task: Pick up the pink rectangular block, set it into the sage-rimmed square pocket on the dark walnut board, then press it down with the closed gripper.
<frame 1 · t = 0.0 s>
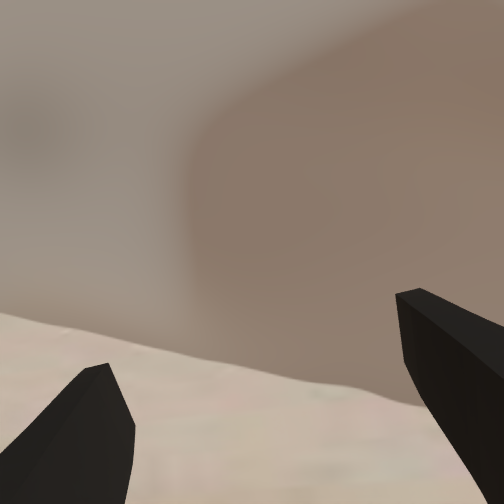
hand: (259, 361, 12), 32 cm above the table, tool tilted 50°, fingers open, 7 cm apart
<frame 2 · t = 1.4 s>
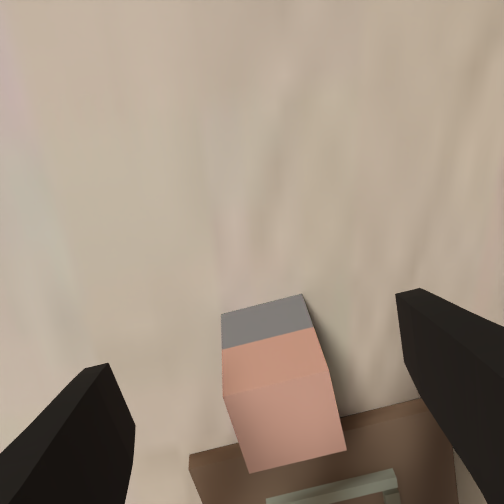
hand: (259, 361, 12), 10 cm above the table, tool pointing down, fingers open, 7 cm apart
pink rectangular block: (270, 337, 24), on the table
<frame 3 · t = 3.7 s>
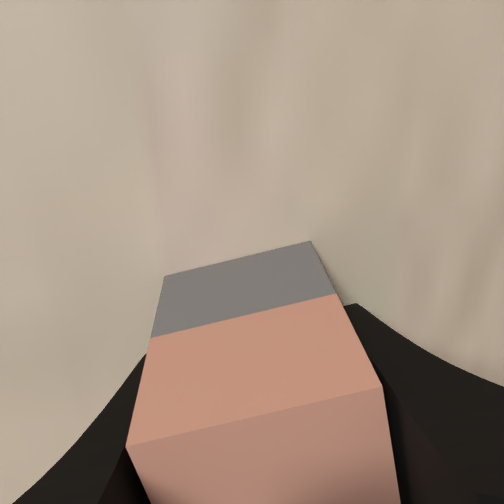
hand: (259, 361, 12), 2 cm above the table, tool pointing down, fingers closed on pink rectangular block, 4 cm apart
pink rectangular block: (254, 321, 14), on the table, touching gripper
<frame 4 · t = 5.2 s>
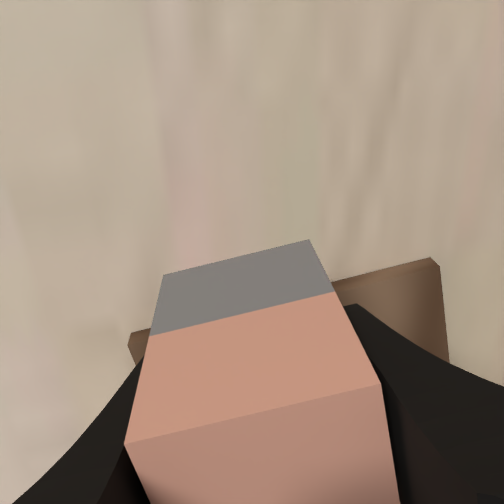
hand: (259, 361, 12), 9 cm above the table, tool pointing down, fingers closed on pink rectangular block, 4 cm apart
pink rectangular block: (253, 320, 14), point 7 cm above the table, touching gripper
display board: (309, 412, 25), on the table
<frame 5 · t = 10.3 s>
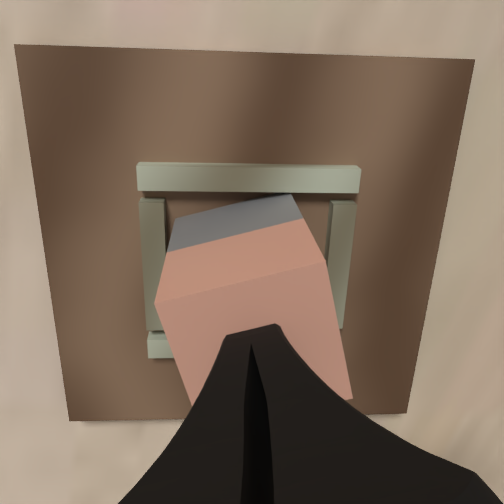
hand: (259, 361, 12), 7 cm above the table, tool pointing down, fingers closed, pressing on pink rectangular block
pink rectangular block: (245, 256, 17), point 1 cm above the table, touching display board, gripper
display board: (245, 252, 18), on the table
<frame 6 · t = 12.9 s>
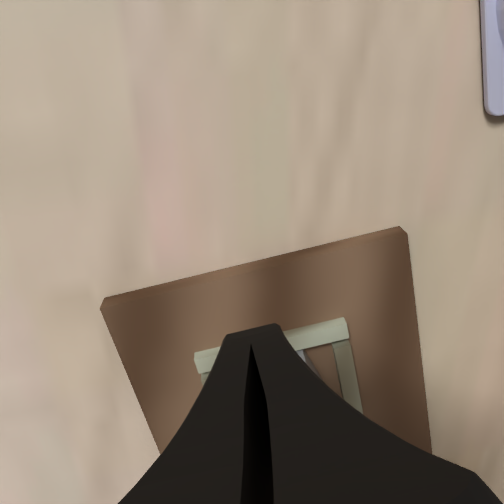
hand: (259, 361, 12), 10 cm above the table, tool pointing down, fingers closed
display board: (281, 381, 25), on the table
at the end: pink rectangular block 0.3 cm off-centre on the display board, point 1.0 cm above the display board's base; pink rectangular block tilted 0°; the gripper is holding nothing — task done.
